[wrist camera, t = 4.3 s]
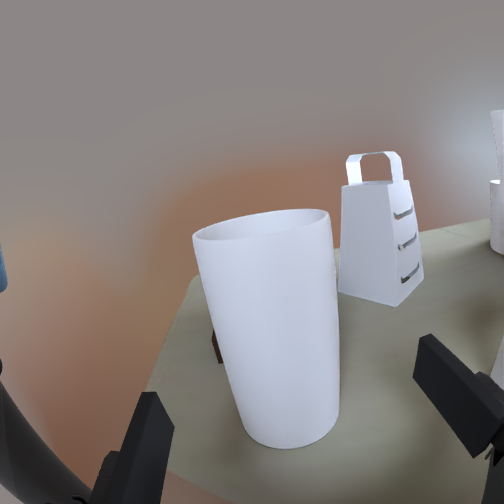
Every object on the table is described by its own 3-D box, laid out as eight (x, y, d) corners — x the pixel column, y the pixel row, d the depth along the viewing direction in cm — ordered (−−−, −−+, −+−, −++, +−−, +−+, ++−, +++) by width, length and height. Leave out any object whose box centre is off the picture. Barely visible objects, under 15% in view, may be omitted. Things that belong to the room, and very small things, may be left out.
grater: (372, 269, 47) (361, 155, 42) (423, 279, 38) (417, 150, 33) (337, 291, 41) (321, 158, 36) (396, 307, 33) (387, 149, 28)
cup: (334, 376, 24) (321, 204, 20) (343, 443, 16) (341, 225, 12) (249, 383, 25) (212, 220, 21) (234, 449, 17) (168, 249, 13)
